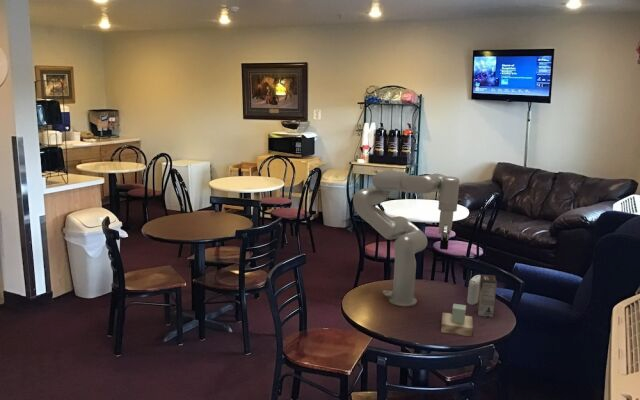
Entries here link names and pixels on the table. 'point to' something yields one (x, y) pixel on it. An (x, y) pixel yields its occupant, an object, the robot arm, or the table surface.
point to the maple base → (456, 325)
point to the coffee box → (486, 295)
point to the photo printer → (473, 290)
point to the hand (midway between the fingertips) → (444, 246)
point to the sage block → (458, 313)
